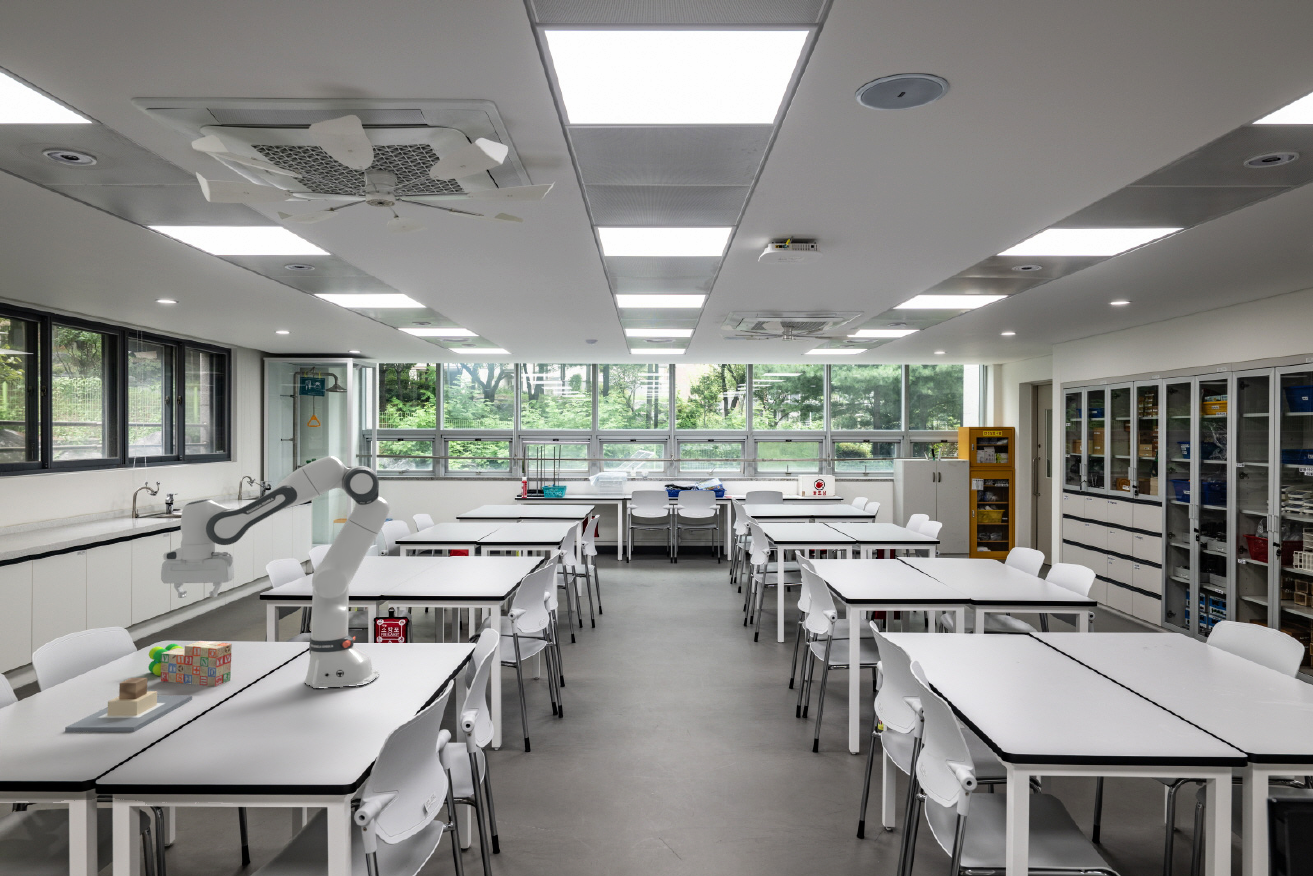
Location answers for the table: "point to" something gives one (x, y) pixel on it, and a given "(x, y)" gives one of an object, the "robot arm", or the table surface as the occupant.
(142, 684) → the walnut cube
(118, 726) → the board
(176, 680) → the stack of blocks
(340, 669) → the robot arm
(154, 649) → the molecule model
